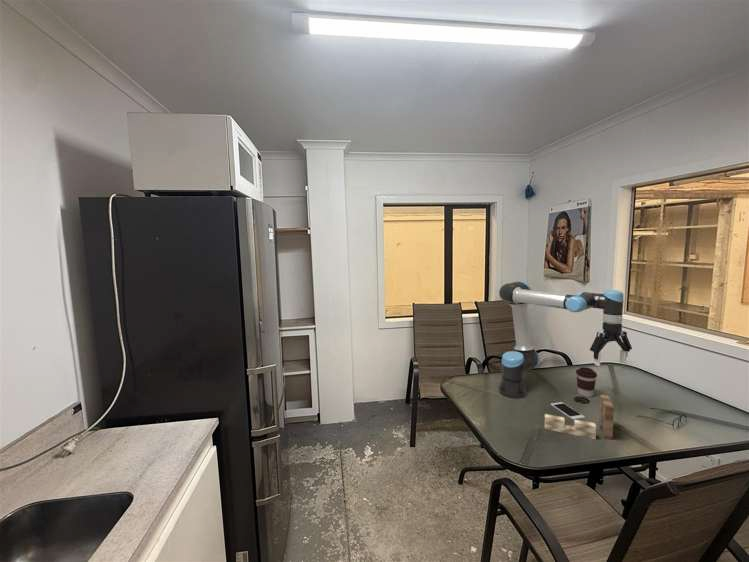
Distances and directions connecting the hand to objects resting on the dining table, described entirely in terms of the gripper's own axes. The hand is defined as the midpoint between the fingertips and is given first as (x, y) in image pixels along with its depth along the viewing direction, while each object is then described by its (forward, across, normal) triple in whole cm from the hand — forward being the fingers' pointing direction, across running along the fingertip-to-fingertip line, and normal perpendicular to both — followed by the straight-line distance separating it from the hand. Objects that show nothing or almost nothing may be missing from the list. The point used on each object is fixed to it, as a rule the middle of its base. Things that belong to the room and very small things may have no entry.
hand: (610, 364), depth 154 cm
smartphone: (+28, -16, +8) cm, 33 cm away
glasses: (+28, +23, -6) cm, 37 cm away
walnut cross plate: (+27, -11, -12) cm, 32 cm away
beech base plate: (+27, -28, -10) cm, 40 cm away
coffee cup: (+27, +6, +22) cm, 36 cm away
